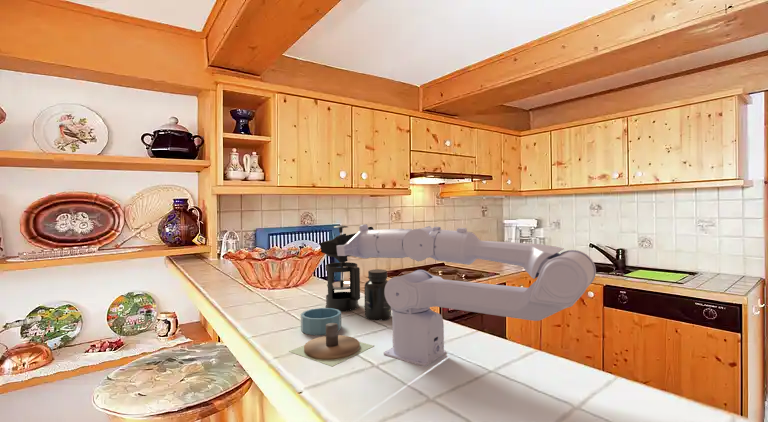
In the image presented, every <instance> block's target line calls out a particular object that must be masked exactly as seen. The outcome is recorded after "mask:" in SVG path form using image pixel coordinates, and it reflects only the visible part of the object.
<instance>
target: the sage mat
mask: <svg viewBox="0 0 768 422" xmlns="http://www.w3.org/2000/svg"><path fill="white" fill-rule="evenodd" d="M359 343H360V349H359V351H358V352H356V353H355V354H353V355H351V356H348V357H345V358H340V359H333V360H322V359H315V358H311V357H309V356H307V355H306V354H305V353H304V345H302V346H299V347H297V348H294V349H291V350H288V353H291V354H295V355H298V356H300V357H303V358H306V359H309V360H312V361H315V362H318V363H320V364H323V365H327V366H329V367H334V366H336V365H339V364H341V363H342V362H345V361H347V360H349V359H351V358H353V357H355V356H357V355H359V354H361V353H364V352H365V351H367V350H369V349H371V348H374V347H375V345H372V344H369V343H365V342H361V341H359Z"/></svg>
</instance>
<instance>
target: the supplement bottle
mask: <svg viewBox="0 0 768 422" xmlns="http://www.w3.org/2000/svg"><path fill="white" fill-rule="evenodd" d="M367 279H369V280H367V281H366V282H365V283H364V317H365V319H366V320H369V321H370V320H371V321H387V320H389V319H391V317H392V310H391V306H390V305H389V304H388V303H387V301H386V298H385V293H384V290H385V286H386V283H387V282H388V281H389V280H387V279H388V271H387V270H386V269H377V268H376V269H369V270H368V274H367Z"/></svg>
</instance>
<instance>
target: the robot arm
mask: <svg viewBox="0 0 768 422" xmlns="http://www.w3.org/2000/svg"><path fill="white" fill-rule="evenodd" d="M358 227H359V228H358V229H359V230H358V232H354V233H350V234H347V233H342V234H341V235H340V234H339V235H337V236H335V237H334V238H332V239H329V240H325V241H321V242H320V244H319V245H320V252H321V253H323V254H325V255H327V254H328V255H330V256H333V257H332V258H335V259H336V260H337V262H338V263H339V262H342V263H343V262H348V260H349V259H348V257H347V255H349V257H355V258H360V259H369V258H375V259H376V258H378V259H382V258H383V259H394V258H395V259H403V258H404V259H405V258H409V259H412V260H414V261H416V262H422V261H425V260H426V259H428V258H431V259H432V260H435V261H437V262H446V263H454V264H459V265H460V264H461V265H471V264H473V263H475V261H477V260H484V261H490V262H495V263H496V262H497V263H501V264H502V263H503V264H507V265H514V266H520V267H522V268H523V269H524V270H525V272H527V274H528V275H529V276H530V277H531V279H533V280H535V281H533V283H531V285H530V286H529V287H525V286H524V287H523V286H512V285H503V284H492V283H485V282H484V283H483V282H472V281H465V280H464V281H462V280H451V279H443V277H441V275H440V276H439V275H434V274H431V273H430V272H428V271H427V270H424V269H417V270H414V271H412V272H409V273H406V274H403V275H400V276H394V277H391V278H390V279H388V280H387V281H388V282H387V283H386V286H385V290H384V293H385V298H386V301H387V303H388V304H389V305H390V306H391V317H392V326H391V327H392V347H391V348H389V349H386V351H383V355H384V356H385V357H389V358H393V359H397V360H401V361H404V362H408V363H410V364H414V365H418V366H421V367H427V366H428V365H431V363H433V362H434V361H436V360H437V359H439V358H441V357H442V356H444V355H445V354H446V353H447V352H446V350H445V346H444V345H445V341H444V338H445V335H444V331H445V330H444V326H445V324H444V319H443V315H442V314H441V313H439V312H436V311H433V309H431V308H433V307H434V308H435V307H438V308H445V309H450V310H457V311H463V312H464V311H465V312H472V313H478V314H479V313H480V314H485V315H492V316H498V317H505V318H512V319H519V320H520V319H521V320H525V321H533V322H539V321H542V320H544V319H546V318H548V317H550V316H553V315H555V314H556V313H559V312H561V311H563V310H565V309H567V308H571V307H573V306H574V305H575V304H576V302H577V301H578V300H579V299H580V298H581V297H582V296H583V295H584V294H585V293H586V291H587V289H588V288H589V286H590V285H591V284H592V283H593V281H594V280H595V278H596V275H597V270H596V269H597V268H596V265H595V262H594V261H593V259H592V258H591V257H590V256H589V255H588V254H586V253H585V252H583V251H581V250H576V249H569V250H565V249H564V248H563V247H561V246H560V247H559V246H552V245H547V244H541V243H527V242H513V241H512V242H511V241H496V240H482V239H479V237H478V236H477V235H476V234H475V233H474V232H472V231H468V228H467V227H457V228H456V230H452V229H451V230H450V229H442V227H441V226H433V227H432V226H431V225H429V226H425V227H421V228H413V229H412V228H406V229H405V228H386V229H385V228H384V229H382V228H381V229H380V228H379V229H374V227H373V226H368V224H366V223H365V224H360V225H359V226H358ZM561 251H562V252H561ZM559 252H560V253H559Z"/></svg>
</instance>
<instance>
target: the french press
mask: <svg viewBox="0 0 768 422" xmlns="http://www.w3.org/2000/svg"><path fill="white" fill-rule="evenodd" d="M333 228H334V229H338V233H339V235H341V234H344V233H343V229H344V228H349V226H348V225H335V226H333ZM326 257H331V258H334V257H333V256H330V255H328V254H326ZM348 257H350V256H349V255H347V258H348ZM324 268H325V271H326V272H327V284H326V286H327V294H326V295H325V306H324V308H333V309H338V310H339V311H340V312H341V313H342V312H351V311H355V310H357V309H358V308H359V306H360V303H359V300H360V299H361V285H360V284H361V275H360V274H361V268H360V267H358V263H355V262H351V261H350V262H348V261H346V262H343V263H342V262H339V261H338V262H331V263H327V264H325V267H324ZM348 272H349V281H344V280H343V273H348ZM335 273H340V280H339V281H335ZM335 290H338V291H337V292H335ZM340 290H341V291H340ZM343 290H349V291H343Z"/></svg>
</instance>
